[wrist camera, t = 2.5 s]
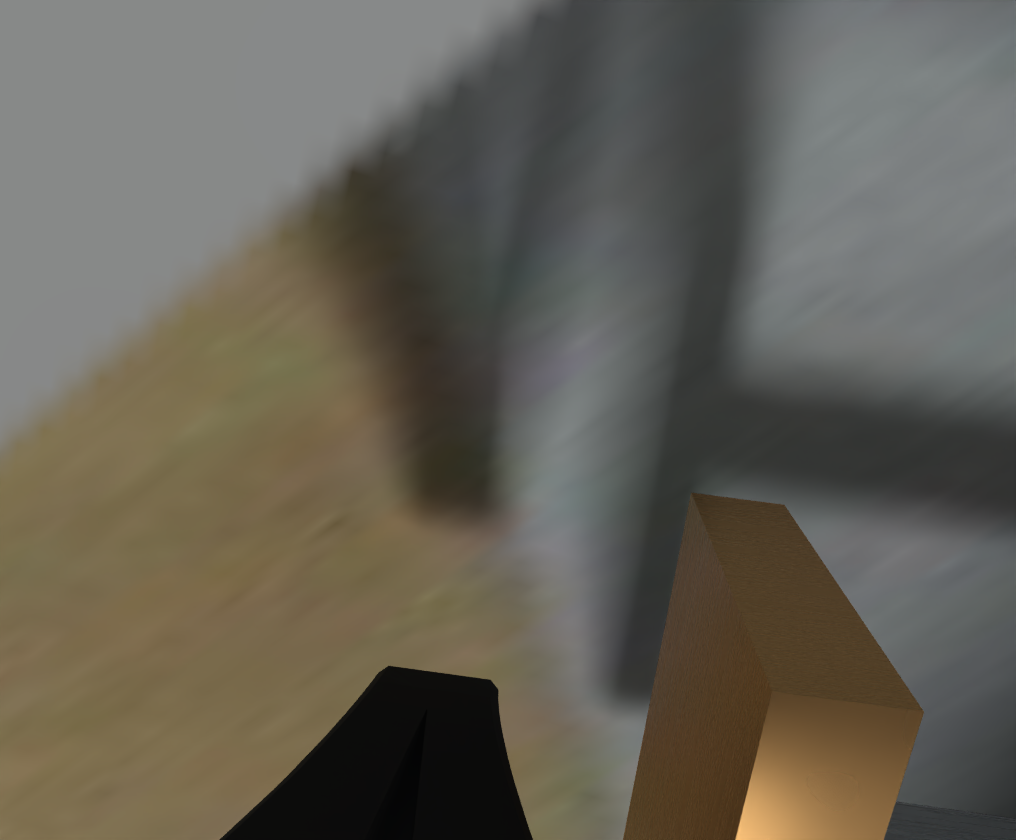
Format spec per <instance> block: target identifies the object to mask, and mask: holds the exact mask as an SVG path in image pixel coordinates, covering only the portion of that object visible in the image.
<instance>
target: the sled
mask: <svg viewBox="0 0 1016 840" xmlns="http://www.w3.org/2000/svg"><path fill="white" fill-rule="evenodd" d="M923 714H924V711H923V710H922V708H921V707H920V705H919V704H918V702H917V701H916V699H915V698H914V696H913V695H912V693H911V692H910V690H909V689H908V688H907V686H906V685H905V683H904V682H903V680H902V679H901V677H900V676H899V674H898V673H897V671H896V670H895V668H894V667H893V665H892V664H891V662H890V661H889V659H888V658H887V656H886V655H885V653H884V652H883V650H882V649H881V647H880V646H879V645H878V643H877V642H876V640H875V639H874V637H873V636H872V634H871V633H870V631H869V630H868V628H867V627H866V625H865V624H864V622H863V621H862V619H861V618H860V616H859V615H858V613H857V612H856V610H855V609H854V607H853V606H852V605H851V603H850V602H849V600H848V599H847V597H846V596H845V594H844V593H843V591H842V590H841V588H840V587H839V585H838V584H837V582H836V581H835V579H834V578H833V576H832V575H831V573H830V572H829V570H828V569H827V567H826V566H825V565H824V563H823V562H822V560H821V559H820V557H819V556H818V554H817V553H816V551H815V550H814V548H813V547H812V545H811V544H810V542H809V541H808V539H807V538H806V536H805V535H804V533H803V532H802V530H801V529H800V527H799V526H798V525H797V523H796V522H795V520H794V519H793V517H792V516H791V514H790V513H789V511H788V510H787V508H786V507H785V505H781V504H774V503H766V502H758V501H751V500H743V499H735V498H728V497H720V496H712V495H705V494H697V493H691V496H690V501H689V506H688V512H687V517H686V522H685V527H684V532H683V537H682V542H681V547H680V552H679V557H678V563H677V568H676V573H675V578H674V583H673V588H672V593H671V598H670V603H669V608H668V613H667V619H666V624H665V629H664V634H663V639H662V644H661V649H660V654H659V659H658V664H657V669H656V675H655V680H654V685H653V690H652V695H651V700H650V705H649V710H648V715H647V720H646V726H645V731H644V736H643V741H642V746H641V751H640V756H639V761H638V766H637V771H636V776H635V782H634V787H633V792H632V797H631V802H630V807H629V812H628V817H627V822H626V827H625V833H624V838H623V840H1016V818H1009V817H1002V816H995V815H988V814H980V813H973V812H966V811H959V810H952V809H945V808H937V807H930V806H923V805H916V804H909V803H901V802H896V799H897V796H898V793H899V790H900V787H901V783H902V780H903V777H904V774H905V771H906V768H907V764H908V761H909V758H910V755H911V752H912V749H913V745H914V742H915V739H916V736H917V733H918V730H919V726H920V723H921V720H922V717H923Z"/></svg>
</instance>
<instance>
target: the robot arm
mask: <svg viewBox="0 0 1016 840" xmlns="http://www.w3.org/2000/svg"><path fill="white" fill-rule="evenodd" d="M220 840H533V838H532V836H531V833H530V830H529V827H528V824H527V821H526V818H525V815H524V811H523V808H522V805H521V802H520V799H519V795H518V792H517V789H516V786H515V783H514V779H513V776H512V772H511V768H510V764H509V760H508V756H507V752H506V747H505V743H504V738H503V733H502V728H501V722H500V715H499V704H498V689H497V687H496V686H495V685H494V684H493V682H492V681H491V680H488V679H481V678H473V677H466V676H459V675H452V674H444V673H437V672H430V671H422V670H415V669H408V668H400V667H393V666H388V667H386V668H385V669H383V670H382V671H380V672H379V673H378V674H377V675H376V677H375V678H374V679H373V681H372V682H371V683H370V685H369V686H368V687H367V688H366V690H365V691H364V692H363V693H362V695H361V696H360V697H359V698H358V700H357V701H356V702H355V703H354V704H353V705H352V707H351V708H350V709H349V710H348V711H347V713H346V714H345V715H344V716H343V717H342V718H341V719H340V720H339V722H338V723H337V724H336V725H335V726H334V727H333V728H332V729H331V731H330V732H329V733H328V734H327V735H326V736H325V737H324V738H323V739H322V740H321V741H320V742H319V743H318V745H317V746H316V747H315V748H314V749H313V750H312V751H311V752H310V753H309V754H308V755H307V756H306V757H305V758H304V759H303V760H302V761H301V762H300V763H299V764H298V765H297V766H296V768H295V769H294V770H293V771H292V772H291V773H290V774H289V775H288V776H287V777H286V778H285V779H284V780H283V781H282V782H281V783H280V784H279V785H278V786H277V787H276V788H275V789H274V790H273V791H271V792H270V793H269V794H268V795H267V796H266V797H265V798H264V799H263V800H262V801H261V802H260V803H259V804H257V805H256V806H255V807H254V808H253V809H252V810H251V811H250V812H249V813H248V814H247V815H246V816H245V817H243V818H242V819H241V820H240V821H239V822H238V823H237V824H236V825H235V826H234V827H233V828H232V829H231V830H229V831H228V832H227V833H226V834H225V835H224V836H223V837H222V838H221V839H220Z"/></svg>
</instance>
